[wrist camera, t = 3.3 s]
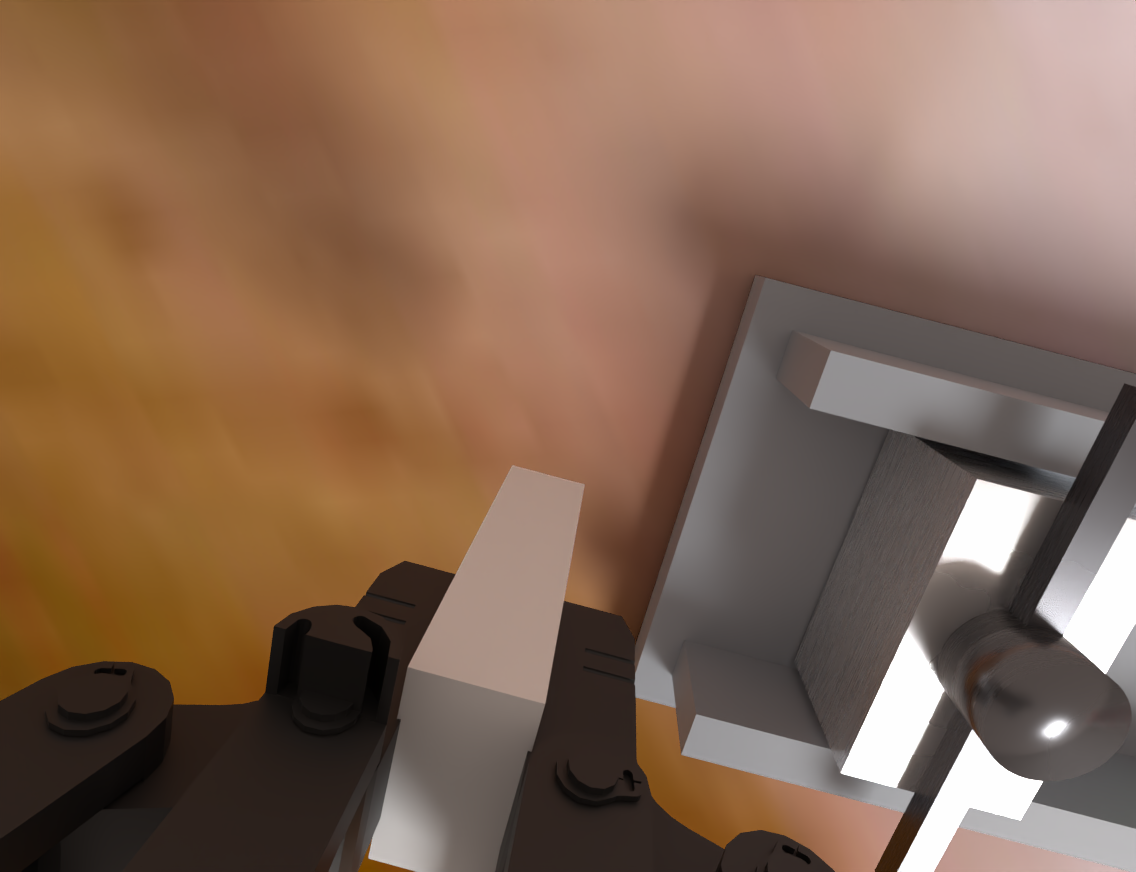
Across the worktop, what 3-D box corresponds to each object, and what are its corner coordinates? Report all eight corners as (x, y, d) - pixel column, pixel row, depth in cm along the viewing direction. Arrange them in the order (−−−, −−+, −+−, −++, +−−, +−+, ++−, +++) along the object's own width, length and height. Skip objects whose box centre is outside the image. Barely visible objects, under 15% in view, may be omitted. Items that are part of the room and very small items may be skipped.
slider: (766, 727, 19) (827, 931, 13) (930, 329, 15) (1104, 380, 10) (903, 763, 19) (1021, 982, 13) (1097, 373, 15) (1365, 448, 10)
